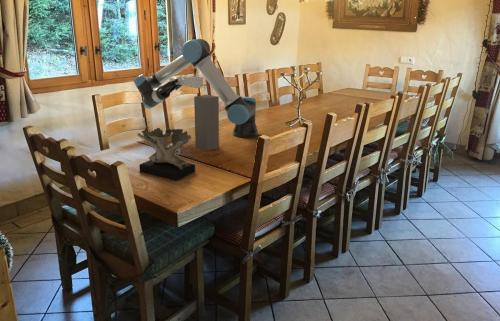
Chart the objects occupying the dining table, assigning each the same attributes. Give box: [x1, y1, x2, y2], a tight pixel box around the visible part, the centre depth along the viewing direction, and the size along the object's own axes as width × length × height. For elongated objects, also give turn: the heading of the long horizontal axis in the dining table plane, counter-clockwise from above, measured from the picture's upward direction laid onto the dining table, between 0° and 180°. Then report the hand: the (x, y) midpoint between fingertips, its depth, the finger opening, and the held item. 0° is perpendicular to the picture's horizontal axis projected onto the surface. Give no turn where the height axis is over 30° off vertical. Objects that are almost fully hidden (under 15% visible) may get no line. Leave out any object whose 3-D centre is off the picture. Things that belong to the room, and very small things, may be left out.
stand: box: [193, 94, 220, 152], centre depth 220 cm, size 9×9×28 cm
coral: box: [136, 127, 196, 182], centre depth 182 cm, size 25×20×22 cm
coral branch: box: [166, 142, 184, 157], centre depth 205 cm, size 9×8×10 cm
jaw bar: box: [169, 75, 204, 89], centre depth 222 cm, size 22×5×5 cm, turn 51°
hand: (184, 77), depth 222 cm, fingers closed on jaw bar, 3 cm apart
